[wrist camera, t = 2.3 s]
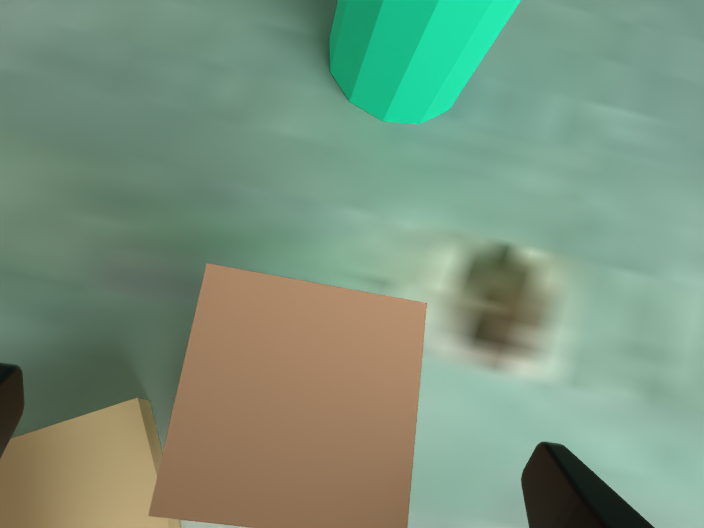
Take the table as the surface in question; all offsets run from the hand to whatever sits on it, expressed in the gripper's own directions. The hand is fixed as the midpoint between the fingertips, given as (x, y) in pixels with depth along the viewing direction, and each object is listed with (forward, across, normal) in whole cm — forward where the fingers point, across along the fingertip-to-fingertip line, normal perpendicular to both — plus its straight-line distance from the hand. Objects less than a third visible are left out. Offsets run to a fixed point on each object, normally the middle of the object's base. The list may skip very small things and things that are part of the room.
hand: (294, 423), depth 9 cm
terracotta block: (+6, 0, +6) cm, 8 cm away
